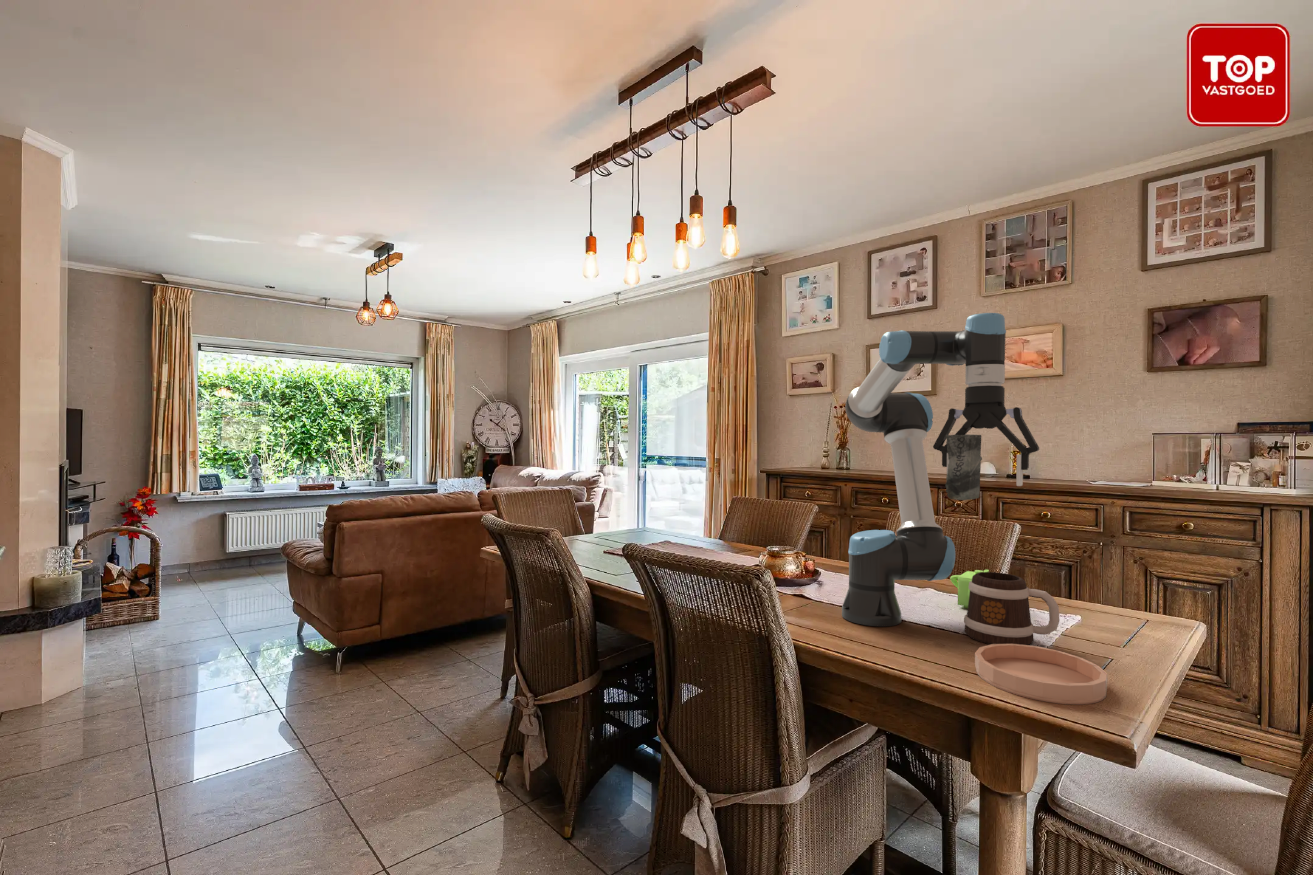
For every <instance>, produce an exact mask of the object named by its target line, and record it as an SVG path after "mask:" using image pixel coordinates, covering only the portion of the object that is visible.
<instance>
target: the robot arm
mask: <svg viewBox="0 0 1313 875" xmlns="http://www.w3.org/2000/svg"><path fill="white" fill-rule="evenodd" d="M1006 333H1007V330H1006V319H1005V315H1003V314H1001V313H999V312H982V313H975V314H971V315H969V316H968V317H967V318H966V321H965V326H964V330H959V331H956V330H955V331H954V330H953V331H951V330H949V331H947V330H946V331H945V330H942V331H940V330H937V331H935V330H934V331H932V330H931V331H929V330H927V331H926V330H922V331H921V330H920V331H919V330H918V331H916V330H913V331H912V330H895V331H894V330H893V331H887V332H885V333H884V334H883V335H882V336H881V339H880V342H879V346H878V347H879V348H878V353H879V359H878V361H877V362H876V363H875V365H874V366H873V368H872V369H871V370H870V372H869V373H868V374H867V376H866V377H865V378H864V380H863V381H862V382H861V385H860V386H857V387H855V388H854V389H853V390H851V392H850V393H849V394H848V396H847V397H846V400H845V407H844V409H845V414H846V416H847V418H848V420H849V421H850V423H851V424H853V426H854V427H856V428H858V429H859V430H862V431H864V432H867V433H868V432H869V433H882V434H883V439H884V442H886V443H887V444H889V445H890V449H891V456H892V464H893V472H894V479H895V485H896V486H895V488H896V494H897V500H898V501H897V502H898V508H899V509H898V510H899V517H900V518H899V519H900V523H901V524H900V526H899V528H898V529H896V532H895V531H894V530H890V529H889V530H888V529H880V530H879V529H871V530H869V529H868V530H863V531H858V532H856V533H854V534H852V535H851V536H850V537H849V544H848V551H847V552H848V589H847V592H846V595H845V598H844V601H843V603H842V606H841V616H842V617H841V618H843V619H844V620H847V621H849V622H850V623H851V622H852V623H855V624H859V625H863V626H870V627H893V626H897V625H900V624H901V623H902V610H901V607H900V605H899V602H898V598H897V596H896V590H895V582H896V581H927V582H932V581H943V580H946V579H947V578H949V576H950V575H951V574H952V572H953V569H954V567H955V562H956V547H955V546H956V545H955V544H954V542H953V540H952V538H951V537H949V536H947V535H944V532H943V527H942V526H940V525H939V524H938V523H936V519H935V512H934V507H933V502H932V501H933V500H932V493H931V488H930V482H929V475H928V468H927V467H928V466H927V461H926V455H925V450H924V448H925V447H924V443H923V441H924V440H925V439H926V438H927V436H928V432H930V430H932V427H933V423H934V422H933V419H934V413H933V409H932V408H933V407H932V406H931V403H930V401H929V399H928V398H927V396H924V395H923V394H921V393H913V392H893V391H894V390H895V389H896V388H897V386H898V385H899V384H900V382H902V380H903V379H905V377H906V376H907V374H908V373H909V372H910V371H911V370H912V368H913V367H914V366H915V365H917V364H918V365H923V364H925V365H927V364H928V365H930V364H931V365H932V364H933V365H934V364H936V365H939V364H940V365H941V364H942V365H944V364H945V365H947V366H953V367H954V366H963V365H964V364H965V374H964V375H965V376H964V377H965V379H964V380H965V381H964V382H965V383H964V384H965V385H966V386H967V387H966V388H965V389H964V390H965V392H964V395H965V396H964V397H965V398H964V399H965V400H964V408H963V409H957V408H953V407H952V408H950V409H949V410H948V416H947V420H946V422H945V423H944V425H943V427H942V429H941V431H940V433H939V434H938V436H937V437H936V440H935V442H934V444H933V446H932V447H933V450H936V451H939V452H941V466H942V467H944V468H946V474H947V473H948V465H949V459H948V450H947V443H946V441H947V439H946V435H950V434H951V432H952V429H953V427H954V425H955V424H956V421H957V420H959V419H960V418H961V416H963V417H964V419H965V420H966V421H965V422H964V423H963V425H962V426H961V427H960V428H959V430H958V431H956V433H955V434H954V435H965V434H967V433H969V431H971V430H972V429H986V430H987V429H990V430H991V429H995V428H996V429H997V430H999V432H1001V433H1002V435H1004V436H1005V437H1006V438H1007V440H1008V441H1009V442H1010V443H1011V444H1012V445H1013V446H1014V447H1015V449H1017V450H1018V451H1019V452H1020V453H1019V454H1016V473H1015V474H1016V476H1015V477H1016V478H1015V479H1016V481H1015V482H1016V486H1017V487H1022V486H1023V485H1024V484H1023V483H1024V481H1023V480H1024V476H1023V475H1024V471H1028V470H1029V468H1030V467H1029V466H1030V454H1032V453H1035V452H1038V451H1039V450H1040V447H1039V445H1038V442H1037V440H1036V439H1035V437H1034V435H1033V434H1032V432H1031V430H1030V429H1029V427H1028V425H1027V423H1026V421H1025V420H1024V418H1023V410H1022V408H1021V407H1017V406H1016V407H1013V408H1006V406H1005V397H1006V396H1005V395H1006V394H1005V391H1006V390H1005V387H1004V386H1003V384H1005V383H1006V382H1005V381H1006V365H1005V363H1006V362H1005V361H1006V336H1007V335H1006ZM1007 415H1009V417H1010V418H1011V419H1014V421H1015V423H1016V425H1017V427H1018V429H1019V431H1020V433H1021V434H1022V436H1023V438H1024V440H1025V441H1026V443H1027V445H1028V447H1026V445H1025V444H1024V443H1023V442H1022V441H1021V440H1020V439H1019V437H1018V436H1017V435H1015V434H1014V433H1013V431H1012V430H1010V428H1008V426H1007V425H1006V424H1005V423H1004V421H1003V419H1004V418H1005V417H1006V416H1007ZM944 444H945V445H944Z"/></svg>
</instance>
